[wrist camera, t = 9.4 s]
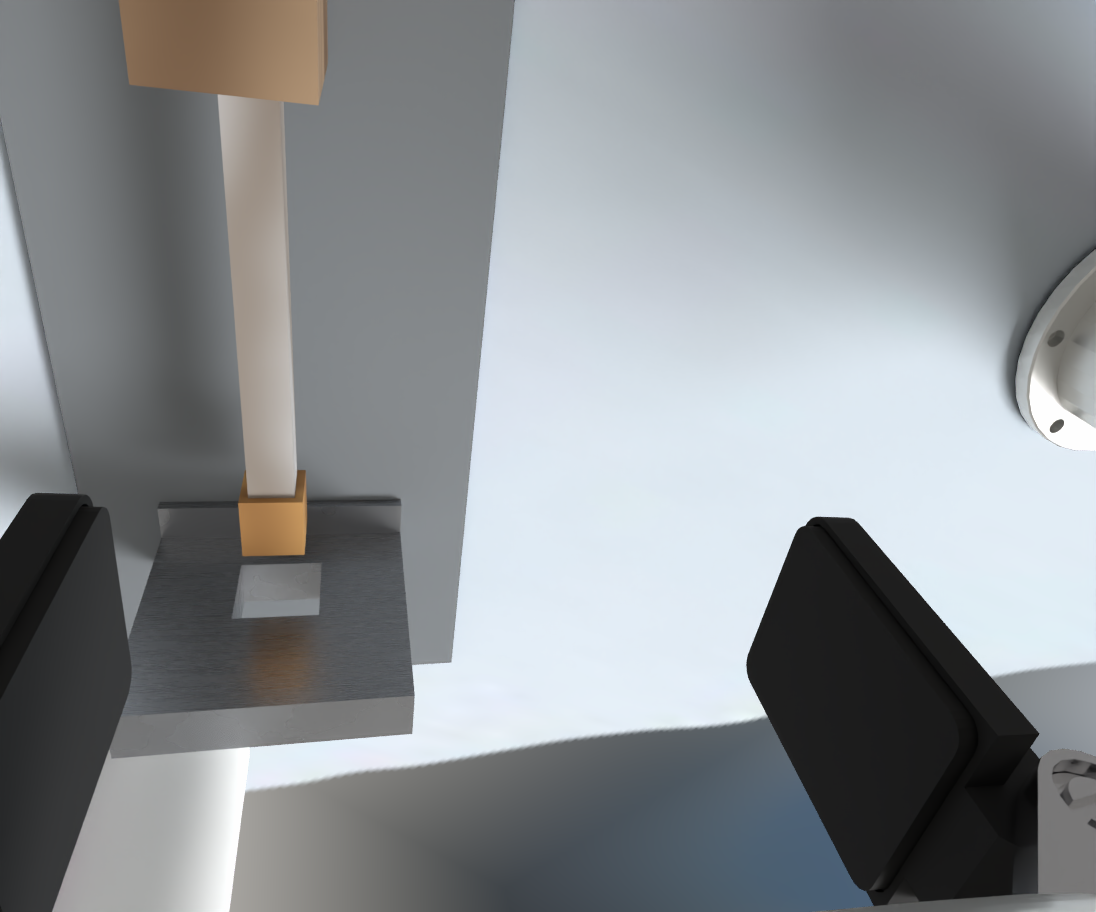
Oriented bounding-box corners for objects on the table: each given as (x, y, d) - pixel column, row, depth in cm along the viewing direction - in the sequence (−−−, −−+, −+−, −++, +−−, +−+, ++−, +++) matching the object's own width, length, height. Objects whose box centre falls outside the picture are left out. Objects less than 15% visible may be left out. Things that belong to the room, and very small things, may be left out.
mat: (517, -51, 26) (519, -51, 25) (450, 656, 42) (451, 662, 41) (-49, -145, 22) (-55, -147, 21) (119, 676, 38) (117, 682, 38)
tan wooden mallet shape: (326, -83, 24) (315, -104, 16) (331, 482, 34) (326, 627, 27) (182, -107, 23) (100, -141, 15) (233, 482, 33) (199, 634, 26)
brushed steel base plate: (400, 499, 35) (416, 665, 27) (397, 584, 38) (410, 760, 30) (159, 502, 33) (95, 685, 25) (172, 592, 35) (118, 787, 27)
